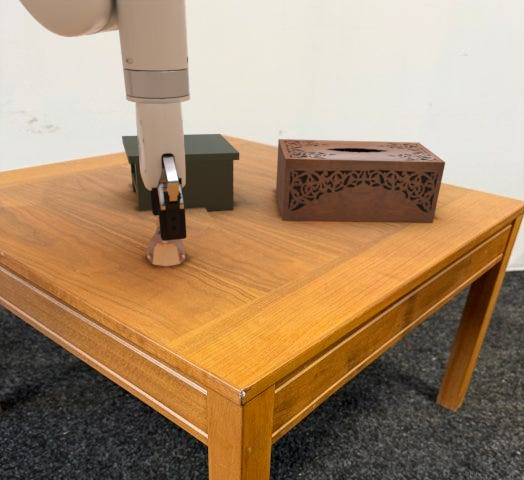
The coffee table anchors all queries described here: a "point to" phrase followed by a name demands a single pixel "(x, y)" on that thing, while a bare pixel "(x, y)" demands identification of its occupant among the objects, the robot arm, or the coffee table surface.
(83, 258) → the coffee table surface
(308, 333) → the coffee table surface
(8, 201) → the coffee table surface
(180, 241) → the mouse figurine
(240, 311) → the coffee table surface
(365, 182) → the tissue box cover
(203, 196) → the dark green lidded box
